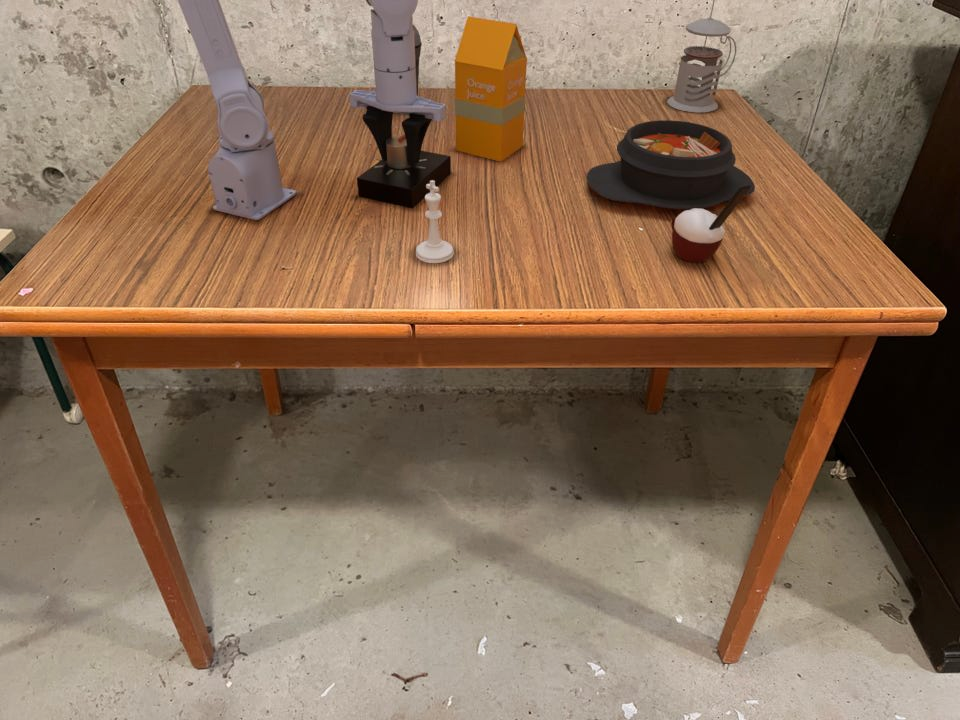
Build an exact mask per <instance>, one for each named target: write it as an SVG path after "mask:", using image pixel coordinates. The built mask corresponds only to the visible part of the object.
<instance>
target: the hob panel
mask: <svg viewBox="0 0 960 720" xmlns="http://www.w3.org/2000/svg"><path fill="white" fill-rule="evenodd" d="M451 159H452V158H451V155H448V154H447V155H446V154H442V153H436V152H431V151H425V150H421V152H420V159H419V162H418V163H417V164H416V165H414V166H412V167H410V168H406V169H394V168H391V167H389V166H388V164H387V161H383V160H382V158H380V157H379V158H378V157H377V158H376V161H377V162H376V163H375V164H373V165H372V166H371V167H370V168H369V169H367V170H365V171H364V172H363V173H361V174H360V175H359V176H357V177H356V184H357V185H356V186H357V194H358V195H357V196H358V198H362V199H367V200H372V201H375V202H380V203H385V204H389V205H395V206H399V207H404V208H408V209H414V208H415V207H416V206H417V205H418V204H419V203H420V202H422V201H423V200H425V195H426V194H428V193H430V189H427V188H426V185H427V184H430V181H431V180H433V181H435V186H436V187H438V186H439V185H441V184H442V183H443V182H444V181H445V180H446V179H448V177H450V176H451V175H452V165H451V164H452V163H451V162H452V161H451Z"/></svg>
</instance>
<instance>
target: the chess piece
mask: <svg viewBox="0 0 960 720" xmlns="http://www.w3.org/2000/svg"><path fill="white" fill-rule="evenodd" d="M426 188H427V189H430V193H428V194H426V195H425V198H424V200H425V203H426V205H427V208H428V210H426V211H425V213H424V217H425V218H426V219H429V225H428V234H427V235H428V236H427V239H426V240H424V241H421V242H420V243H419V244H418V245H416V250H415V256H416V258H417V259H418V260H419V261H420V262H423V263H428V264H441V263H445V262H447V261H450V260H451V259H452V258H453V257H454V254H455V251H454V247H453V245H452V244H451V243H450V242H448V241H446V240H443V239H442V238H441V233H440V228H439V218H440V219H441V217H442V216H443V213H442V211H441V210H440V209H439V207H440V202H441V200H442V195H441V194H440V193H438V192H439V191H440V187H438V186H437V187H436V186H435V181H433V180H431V181H430V184H427V185H426Z"/></svg>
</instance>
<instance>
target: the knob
mask: <svg viewBox="0 0 960 720" xmlns="http://www.w3.org/2000/svg"><path fill="white" fill-rule="evenodd" d="M386 151H387V164H388V166H389V167H391V168H394V169H406V168H410V167H412V166H409V163H408V155H407V143H406V137H405V134H402V135H399V136H398V135H397V136H392V137H391V138H389V139H387V140H386Z"/></svg>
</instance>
